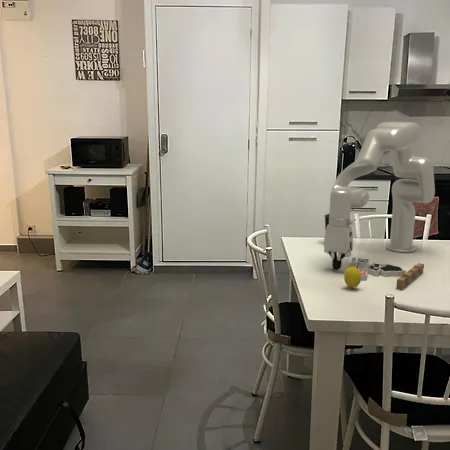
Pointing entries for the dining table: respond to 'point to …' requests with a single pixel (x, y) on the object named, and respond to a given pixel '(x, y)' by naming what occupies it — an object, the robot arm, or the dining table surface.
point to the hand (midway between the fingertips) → (336, 269)
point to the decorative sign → (376, 269)
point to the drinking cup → (326, 220)
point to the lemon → (352, 277)
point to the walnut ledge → (409, 276)
